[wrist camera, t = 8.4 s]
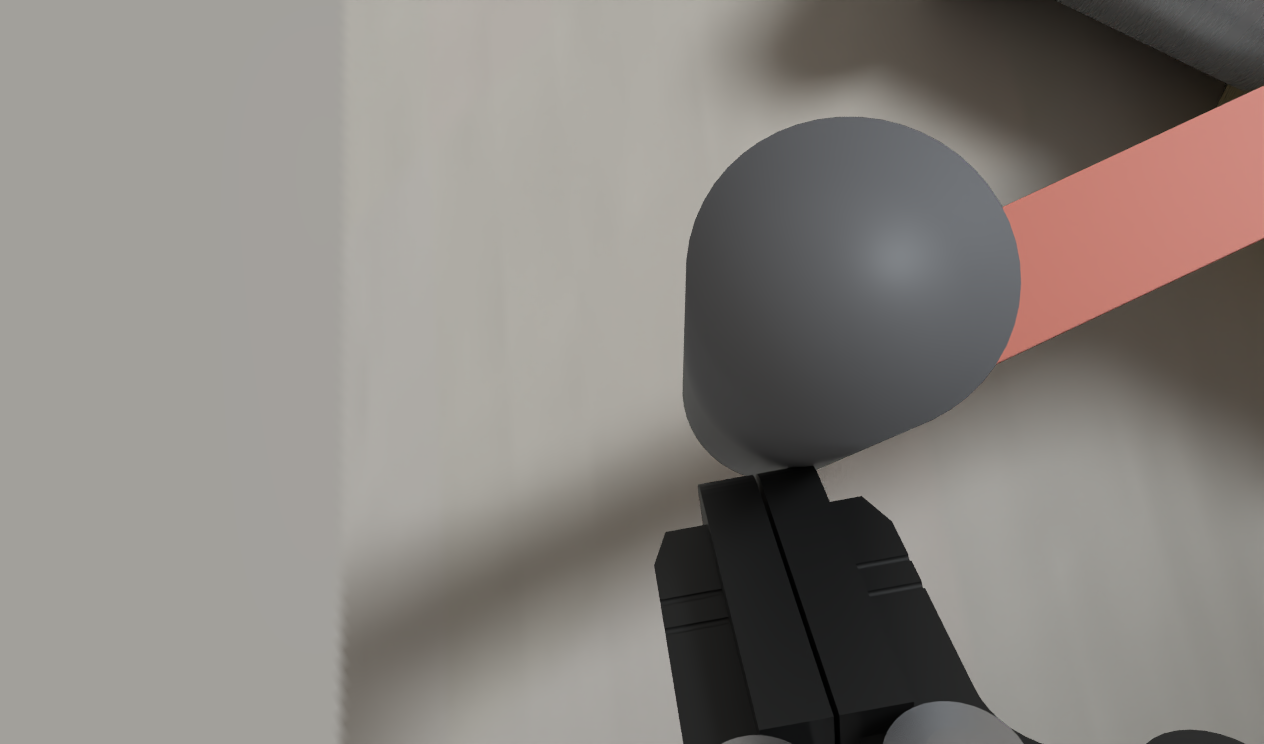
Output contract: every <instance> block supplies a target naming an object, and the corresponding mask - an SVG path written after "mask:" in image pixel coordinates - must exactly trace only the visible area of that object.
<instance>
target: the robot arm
mask: <svg viewBox="0 0 1264 744" xmlns="http://www.w3.org/2000/svg"><path fill="white" fill-rule="evenodd" d="M698 493H699V500H700V507H701V514H702V521H703V525H702V526H697V527H691V528H686V529H680V530H675V531H669V532H666V533H665V535H664V538H663V541H662V544H661V547H660V550H659V553H658V556H657V559H656V562H655V564H654V566H655V573H656V579H657V585H658V591H659V597H660V603H661V609H662V615H663V622H664V628H665V633H666V640H667V646H668V652H669V658H670V664H671V670H672V677H673V683H674V689H675V695H676V701H677V707H678V713H679V719H680V725H681V732H682V738H683V744H1042V743H1039V742H1036V741H1034V740H1032V739H1030V738H1027V737H1025V736H1023V735H1022V734H1020V733H1018V732H1016V731H1015V730H1013V729H1011V728H1010V727H1009V726H1008V725H1006V724H1005V723H1004V722H1002V721H1001V720H1000V719H998V718H997V717H996V716H995V715H994V714H993V713H992V712H991V711H990V710H989V709H988V707H987V706H986V705H985V704H984V702H983V701H982V700H981V698H980V697H979V695H978V693H977V692H976V690H975V688H974V686H973V684H972V682H971V680H970V678H969V676H968V674H967V672H966V670H965V668H964V666H963V664H962V662H961V660H960V658H959V656H958V654H957V652H956V650H955V648H954V646H953V644H952V642H951V640H950V638H949V636H948V634H947V632H946V630H945V628H944V626H943V624H942V622H941V620H940V618H939V616H938V614H937V611H936V609H935V607H934V605H933V603H932V601H931V599H930V597H929V595H928V593H927V591H926V589H925V588H923V587H922V581H921V579H920V577H919V575H918V573H917V571H916V569H915V567H914V565H913V563H912V561H910V560H909V557H908V553H907V551H906V549H905V547H904V545H903V543H902V541H901V539H900V537H899V535H898V533H897V531H896V529H895V527H894V525H893V523H892V521H891V520H889V519H888V518H887V517H886V516H885V515H883V514H882V513H881V512H880V511H879V510H877V509H876V508H875V507H874V506H873V505H872V504H870V503H869V502H868V501H867V500H866V499H864V498H863V497H862V496H860V497H855V498H849V499H844V500H838V501H833V502H829V499H828V497H827V494H826V492H825V490H824V487H823V485H822V483H821V480H820V478H819V476H818V473H817V471H816V469H815V467H814V466H807V467H791V468H785V469H780V470H774V471H769V472H764V473H758V474H756V476H755V477H754V476H753V475H748V476H743V477H737V478H732V479H726V480H721V481H715V482H710V483H704V484H699V485H698ZM1147 744H1244V743H1242V742H1240V741H1238V740H1236V739H1233V738H1230V737H1227V736H1224V735H1221V734H1217V733H1212V732H1207V731H1200V730H1178V731H1173V732H1169V733H1164V734H1162V735H1160V736H1158V737H1155V738H1153V739H1152V740H1151V741H1149V742H1148V743H1147Z"/></svg>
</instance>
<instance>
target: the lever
mask: <svg viewBox="0 0 1264 744" xmlns="http://www.w3.org/2000/svg"><path fill="white" fill-rule="evenodd" d="M1262 239H1264V86H1262V87H1260V88H1258V89H1256V90H1253V91H1251V92H1249V93H1247V94H1245V95H1243V96H1241V97H1238V98H1236V99H1234V100H1232V101H1230V102H1228V103H1225V104H1223V105H1221V106H1219V107H1217V108H1215V109H1213V110H1210V111H1208V112H1206V113H1204V114H1202V115H1200V116H1198V117H1195V118H1193V119H1191V120H1189V121H1187V122H1185V123H1182V124H1180V125H1178V126H1176V127H1174V128H1172V129H1170V130H1167V131H1165V132H1163V133H1161V134H1159V135H1157V136H1154V137H1152V138H1150V139H1148V140H1146V141H1144V142H1142V143H1139V144H1137V145H1135V146H1133V147H1131V148H1129V149H1127V150H1124V151H1122V152H1120V153H1118V154H1116V155H1114V156H1111V157H1109V158H1107V159H1105V160H1103V161H1101V162H1099V163H1096V164H1094V165H1092V166H1090V167H1088V168H1086V169H1083V170H1081V171H1079V172H1077V173H1075V174H1073V175H1071V176H1068V177H1066V178H1064V179H1062V180H1060V181H1058V182H1056V183H1053V184H1051V185H1049V186H1047V187H1045V188H1043V189H1040V190H1038V191H1036V192H1034V193H1032V194H1030V195H1028V196H1025V197H1023V198H1021V199H1019V200H1017V201H1015V202H1012V203H1010V204H1008V205H1006V206H1004V207H1002V206H1001V204H1000V202H999V200H998V199H997V197H996V196H995V194H994V193H993V191H992V190H991V188H990V187H989V185H988V184H987V183H986V182H985V181H984V179H983V178H982V177H981V176H980V175H979V174H978V172H977V171H976V170H975V169H974V168H973V167H972V166H971V165H970V164H968V163H967V162H966V161H965V160H964V159H963V158H962V157H961V156H959V155H958V154H957V153H956V152H954V151H953V150H951V149H950V148H948V147H947V146H945V145H944V144H943V143H941V142H939V141H937V140H936V139H934V138H932V137H930V136H928V135H926V134H924V133H922V132H920V131H917V130H915V129H912V128H909V127H907V126H904V125H901V124H897V123H893V122H889V121H885V120H881V119H873V118H865V117H834V118H825V119H817V120H813V121H809V122H805V123H801V124H797V125H795V126H792V127H789V128H787V129H784V130H782V131H779V132H777V133H775V134H773V135H771V136H769V137H767V138H766V139H764V140H762V141H760V142H758V143H757V144H756V145H754V146H753V147H751V148H750V149H749V150H747V151H746V152H744V153H743V154H742V155H741V156H740V157H739V158H738V159H737V160H735V161H734V162H733V163H732V164H731V165H730V166H729V167H728V168H727V169H726V170H725V172H724V173H723V174H722V175H721V176H720V178H719V179H718V180H717V181H716V182H715V184H714V185H713V187H712V189H711V190H710V192H709V193H708V195H707V197H706V198H705V200H704V202H703V204H702V206H701V208H700V211H699V213H698V215H697V217H696V219H695V223H694V226H693V229H692V233H691V236H690V240H689V247H688V253H687V261H686V294H685V327H684V361H683V402H684V408H685V412H686V416H687V419H688V421H689V424H690V426H691V429H692V431H693V432H694V434H695V436H696V438H697V439H698V441H699V442H700V443H701V445H702V446H703V447H704V448H705V449H706V450H707V451H708V452H709V454H710V455H711V456H712V457H714V458H715V459H716V460H718V461H719V462H720V463H721V464H723V465H725V466H726V467H728V468H730V469H731V470H733V471H736V472H738V473H740V474H742V475H746V476H748V475H753V476H754V477H755V476H756V474H758V473H764V472H769V471H774V470H780V469H785V468H791V467H807V466H814V467H815V469H816V470H817V469H819V468H822V467H824V466H826V465H829V464H831V463H833V462H836V461H838V460H840V459H843V458H845V457H847V456H850V455H852V454H854V453H857V452H859V451H861V450H863V449H866V448H868V447H870V446H873V445H875V444H877V443H880V442H882V441H884V440H887V439H889V438H891V437H894V436H896V435H898V434H901V433H903V432H905V431H908V430H910V429H912V428H915V427H917V426H919V425H922V424H924V423H926V422H929V421H931V420H933V419H934V418H936V417H938V416H940V415H942V414H943V413H945V412H947V411H949V410H951V409H952V408H953V407H955V406H956V405H957V404H959V403H960V402H961V401H963V400H964V399H965V398H967V397H968V396H969V395H970V394H971V393H972V392H973V391H974V390H975V389H976V388H977V387H978V386H979V385H980V384H981V383H982V382H983V381H984V380H985V378H986V377H987V376H988V374H989V373H990V372H991V370H992V369H993V368H994V366H995V365H996V364H998V363H1000V362H1002V361H1005V360H1007V359H1009V358H1011V357H1013V356H1015V355H1017V354H1020V353H1022V352H1024V351H1026V350H1028V349H1030V348H1032V347H1034V346H1037V345H1039V344H1041V343H1043V342H1045V341H1047V340H1049V339H1051V338H1054V337H1056V336H1058V335H1060V334H1062V333H1064V332H1066V331H1068V330H1071V329H1073V328H1075V327H1077V326H1079V325H1081V324H1083V323H1085V322H1088V321H1090V320H1092V319H1094V318H1096V317H1098V316H1100V315H1102V314H1105V313H1107V312H1109V311H1111V310H1113V309H1115V308H1117V307H1120V306H1122V305H1124V304H1126V303H1128V302H1130V301H1132V300H1134V299H1137V298H1139V297H1141V296H1143V295H1145V294H1147V293H1149V292H1151V291H1154V290H1156V289H1158V288H1160V287H1162V286H1164V285H1166V284H1168V283H1171V282H1173V281H1175V280H1177V279H1179V278H1181V277H1183V276H1185V275H1188V274H1190V273H1192V272H1194V271H1196V270H1198V269H1200V268H1202V267H1205V266H1207V265H1209V264H1211V263H1213V262H1215V261H1217V260H1220V259H1222V258H1224V257H1226V256H1228V255H1230V254H1232V253H1234V252H1237V251H1239V250H1241V249H1243V248H1245V247H1247V246H1249V245H1251V244H1254V243H1256V242H1258V241H1260V240H1262Z"/></svg>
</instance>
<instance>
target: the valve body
mask: <svg viewBox="0 0 1264 744" xmlns="http://www.w3.org/2000/svg"><path fill="white" fill-rule="evenodd" d="M1056 1H1058V2H1060V3H1062V4H1064V5H1066V6H1068V7H1070V8H1072V9H1074V10H1076V11H1078V12H1080V13H1083V14H1085V15H1087V16H1089V17H1091V18H1093V19H1095V20H1097V21H1099V22H1101V23H1103V24H1105V25H1107V26H1109V27H1111V28H1113V29H1116V30H1118V31H1120V32H1122V33H1124V34H1126V35H1128V36H1130V37H1132V38H1134V39H1136V40H1138V41H1140V42H1142V43H1144V44H1146V45H1149V46H1151V47H1153V48H1155V49H1157V50H1159V51H1161V52H1163V53H1165V54H1167V55H1169V56H1171V57H1173V58H1175V59H1177V60H1179V61H1181V62H1184V63H1186V64H1188V65H1190V66H1192V67H1194V68H1196V69H1198V70H1200V71H1202V72H1204V73H1206V74H1208V75H1210V76H1212V77H1214V78H1217V79H1219V80H1221V81H1223V82H1225V83H1227V84H1228V85H1227V87H1226V89H1225V91H1224V93H1223V95H1222V97H1221V99H1220V100H1219V102H1218V104H1217V106H1216V108H1217V107H1219V106H1221V105H1223V104H1225V103H1228V102H1230V101H1232V100H1234V99H1236V98H1238V97H1241V96H1243V95H1245V94H1247V93H1249V92H1251V91H1253V90H1256V89H1258V88H1260V87H1262V86H1264V0H1056Z"/></svg>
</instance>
